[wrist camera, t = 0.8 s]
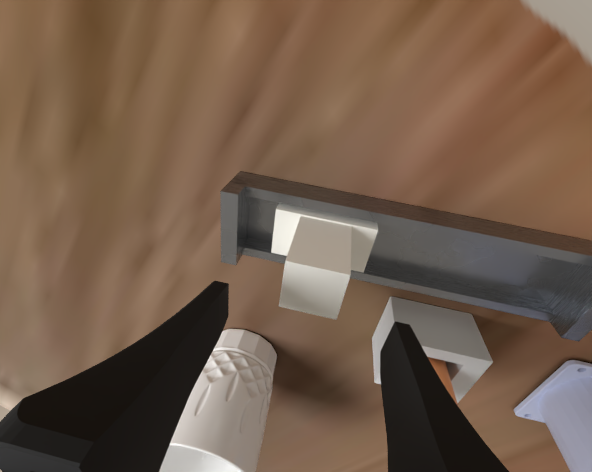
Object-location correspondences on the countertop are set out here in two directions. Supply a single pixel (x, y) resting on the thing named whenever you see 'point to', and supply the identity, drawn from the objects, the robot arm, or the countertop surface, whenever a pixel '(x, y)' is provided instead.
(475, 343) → the white hollow block
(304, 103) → the countertop surface
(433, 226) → the rail
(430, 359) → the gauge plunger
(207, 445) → the white cup
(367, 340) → the countertop surface
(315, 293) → the carriage
